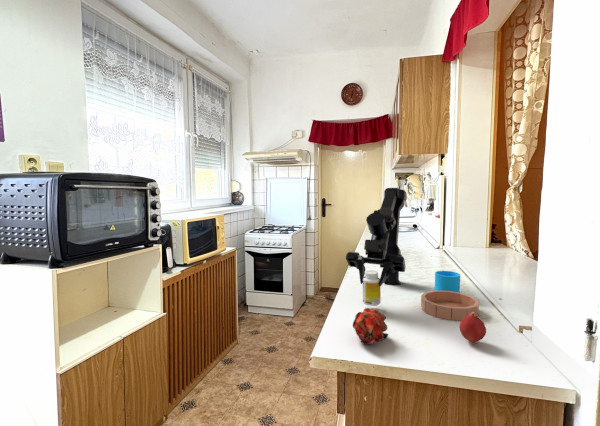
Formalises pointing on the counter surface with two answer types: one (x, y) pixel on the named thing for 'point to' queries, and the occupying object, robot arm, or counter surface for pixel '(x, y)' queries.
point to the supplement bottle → (371, 288)
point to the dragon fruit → (370, 325)
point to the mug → (447, 281)
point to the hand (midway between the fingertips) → (370, 284)
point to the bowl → (449, 305)
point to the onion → (472, 328)
